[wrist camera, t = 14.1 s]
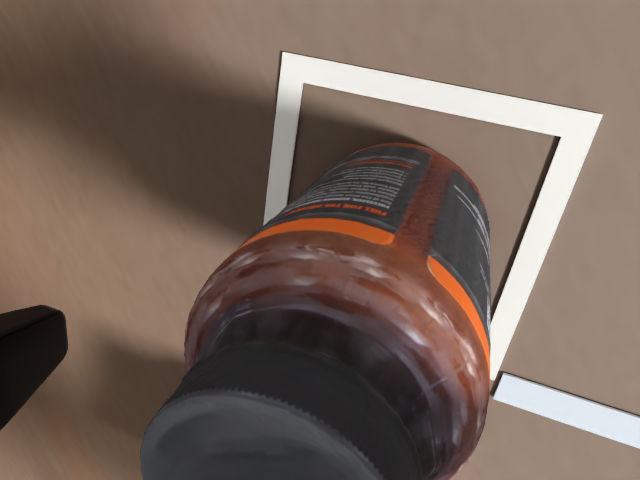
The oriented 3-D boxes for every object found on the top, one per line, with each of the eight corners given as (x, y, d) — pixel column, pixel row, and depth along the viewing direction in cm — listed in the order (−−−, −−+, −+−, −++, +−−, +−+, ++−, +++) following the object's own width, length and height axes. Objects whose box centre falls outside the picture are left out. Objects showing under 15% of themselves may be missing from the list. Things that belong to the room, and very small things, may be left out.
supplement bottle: (285, 197, 17) (9, 409, 7) (425, 100, 14) (285, 227, 5) (376, 326, 18) (238, 672, 8) (526, 256, 15) (591, 654, 5)
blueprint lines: (870, 166, 12) (873, 167, 12) (542, 646, 22) (542, 649, 21) (249, 45, 16) (247, 44, 15) (211, 499, 25) (210, 501, 25)
